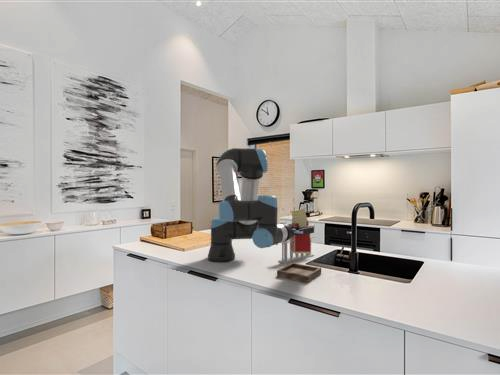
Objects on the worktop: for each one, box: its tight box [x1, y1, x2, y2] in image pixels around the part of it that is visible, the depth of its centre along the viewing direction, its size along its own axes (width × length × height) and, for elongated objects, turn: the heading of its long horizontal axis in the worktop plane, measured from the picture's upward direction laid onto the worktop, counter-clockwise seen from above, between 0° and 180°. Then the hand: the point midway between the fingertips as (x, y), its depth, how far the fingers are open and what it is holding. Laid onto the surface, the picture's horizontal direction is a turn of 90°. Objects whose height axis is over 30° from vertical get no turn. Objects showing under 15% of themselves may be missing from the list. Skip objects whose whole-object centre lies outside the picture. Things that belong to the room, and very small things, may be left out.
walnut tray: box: [276, 262, 322, 284], centre depth 135 cm, size 15×15×3 cm
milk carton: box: [289, 207, 312, 255], centre depth 134 cm, size 9×9×20 cm
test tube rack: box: [277, 235, 315, 264], centre depth 163 cm, size 25×4×13 cm, turn 129°
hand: (303, 226), depth 138 cm, fingers closed on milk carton, 9 cm apart
